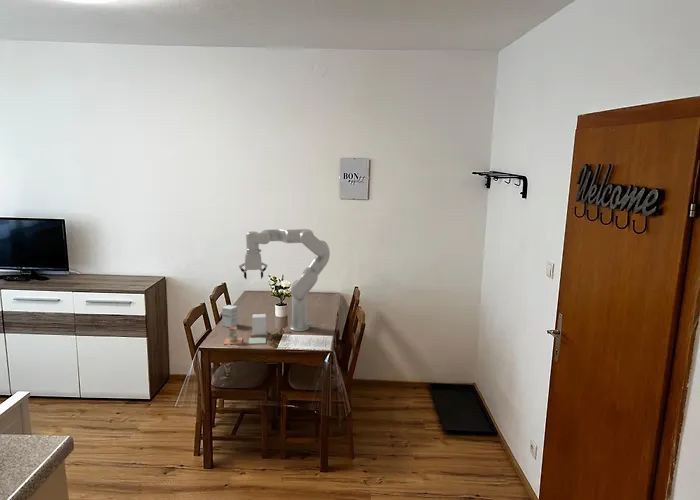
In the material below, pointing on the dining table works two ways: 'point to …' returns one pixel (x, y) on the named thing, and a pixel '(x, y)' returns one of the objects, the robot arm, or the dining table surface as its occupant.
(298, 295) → the robot arm
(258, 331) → the mounted unit
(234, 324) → the supplement box
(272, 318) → the dining table surface
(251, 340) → the sage pad
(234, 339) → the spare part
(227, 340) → the terracotta pad
